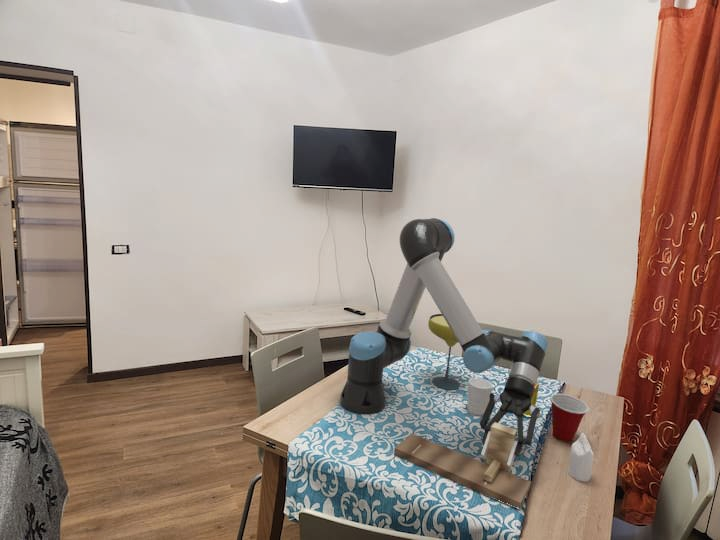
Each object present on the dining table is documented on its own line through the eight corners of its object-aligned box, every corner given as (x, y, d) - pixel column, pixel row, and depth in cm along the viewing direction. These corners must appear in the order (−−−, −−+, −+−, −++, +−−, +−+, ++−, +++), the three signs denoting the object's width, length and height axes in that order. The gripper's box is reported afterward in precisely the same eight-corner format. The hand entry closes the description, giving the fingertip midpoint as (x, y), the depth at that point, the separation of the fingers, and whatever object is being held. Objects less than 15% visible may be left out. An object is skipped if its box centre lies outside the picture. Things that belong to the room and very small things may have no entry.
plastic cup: (566, 450, 134) (573, 412, 132) (537, 431, 143) (542, 396, 141) (590, 443, 139) (597, 406, 137) (560, 425, 148) (566, 391, 146)
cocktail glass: (461, 399, 162) (470, 331, 157) (414, 384, 170) (421, 320, 165) (475, 381, 177) (483, 320, 173) (431, 369, 186) (438, 310, 181)
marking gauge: (474, 482, 115) (480, 439, 113) (488, 462, 124) (494, 422, 122) (498, 492, 112) (504, 448, 109) (510, 471, 121) (517, 430, 118)
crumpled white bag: (601, 441, 117) (579, 439, 117) (593, 483, 119) (571, 480, 120) (592, 429, 123) (570, 426, 123) (584, 469, 125) (563, 466, 126)
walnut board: (393, 454, 125) (394, 447, 125) (410, 439, 133) (411, 432, 133) (519, 510, 107) (520, 502, 106) (530, 488, 115) (531, 481, 114)
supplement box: (531, 419, 151) (536, 388, 149) (512, 413, 154) (517, 383, 152) (534, 412, 156) (539, 382, 154) (517, 406, 159) (521, 377, 157)
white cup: (489, 418, 149) (493, 390, 147) (465, 414, 151) (469, 386, 149) (488, 407, 157) (492, 380, 155) (464, 403, 158) (468, 376, 156)
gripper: (557, 398, 125) (535, 480, 115) (489, 378, 135) (463, 452, 125) (556, 386, 120) (532, 472, 109) (486, 366, 130) (458, 443, 120)
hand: (495, 461), depth 117 cm, fingers closed on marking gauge, 6 cm apart
